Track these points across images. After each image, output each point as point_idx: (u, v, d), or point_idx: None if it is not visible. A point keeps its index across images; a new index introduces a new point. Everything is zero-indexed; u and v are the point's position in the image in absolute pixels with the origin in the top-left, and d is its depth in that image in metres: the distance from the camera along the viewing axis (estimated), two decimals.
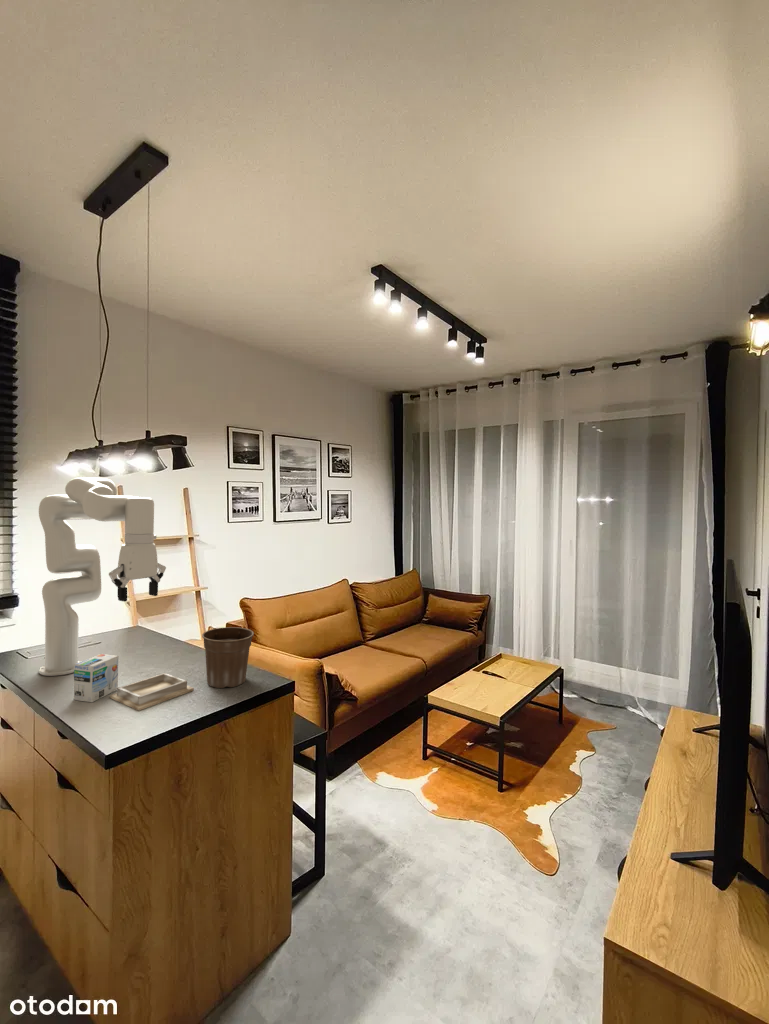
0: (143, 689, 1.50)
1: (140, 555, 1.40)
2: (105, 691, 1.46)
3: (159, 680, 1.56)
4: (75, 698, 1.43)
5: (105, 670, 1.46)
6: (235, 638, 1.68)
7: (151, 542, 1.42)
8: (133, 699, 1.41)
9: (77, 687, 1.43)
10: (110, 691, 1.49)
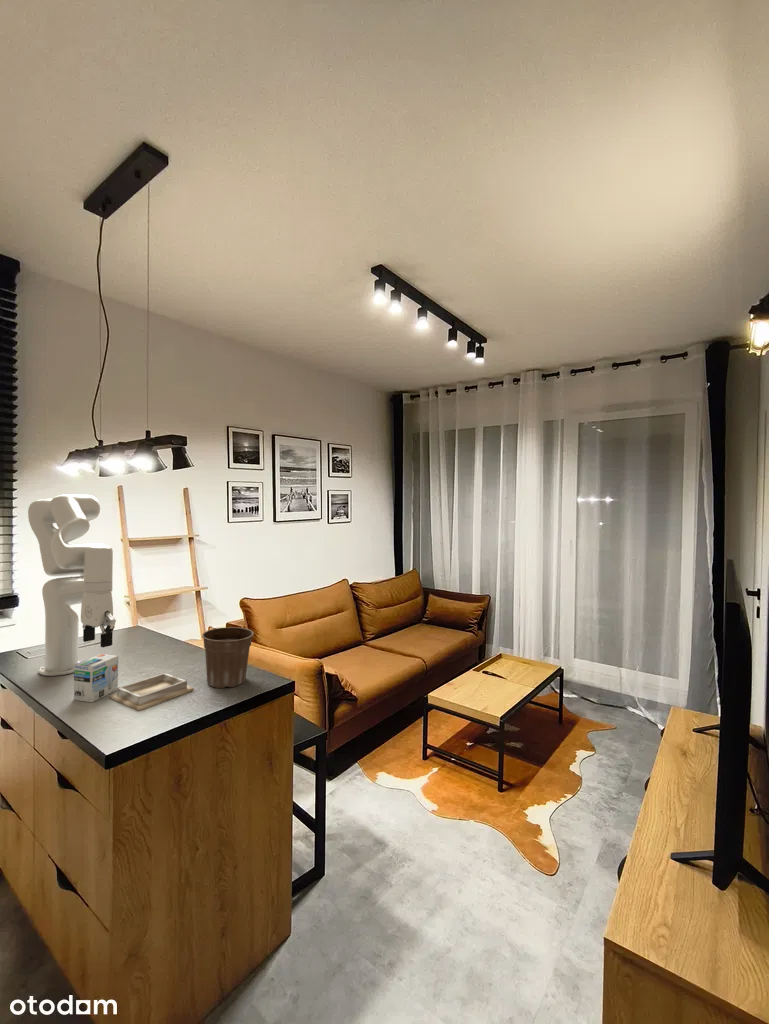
0: (143, 689, 1.50)
1: None
2: (105, 691, 1.46)
3: (159, 680, 1.56)
4: (75, 698, 1.43)
5: (105, 670, 1.46)
6: (235, 638, 1.68)
7: None
8: (133, 699, 1.41)
9: (77, 687, 1.43)
10: (110, 691, 1.49)
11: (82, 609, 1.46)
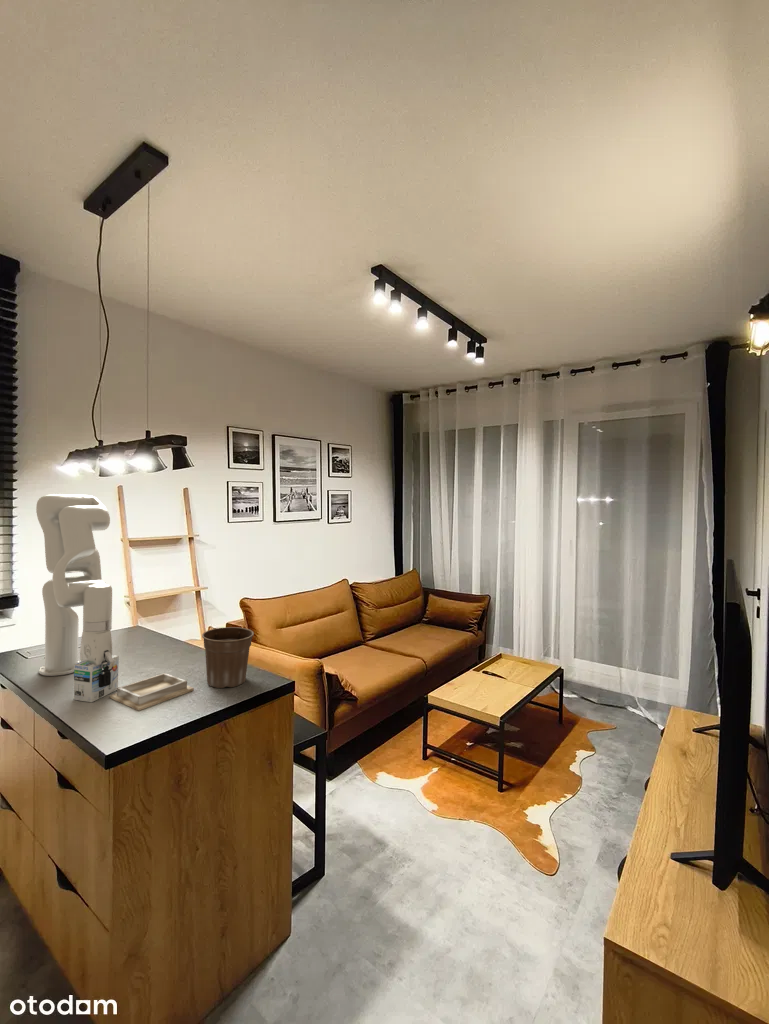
0: (143, 689, 1.50)
1: None
2: (104, 691, 1.46)
3: (159, 680, 1.56)
4: (75, 698, 1.43)
5: None
6: (235, 638, 1.68)
7: None
8: (133, 699, 1.41)
9: (77, 687, 1.43)
10: (110, 691, 1.48)
11: (81, 647, 1.47)
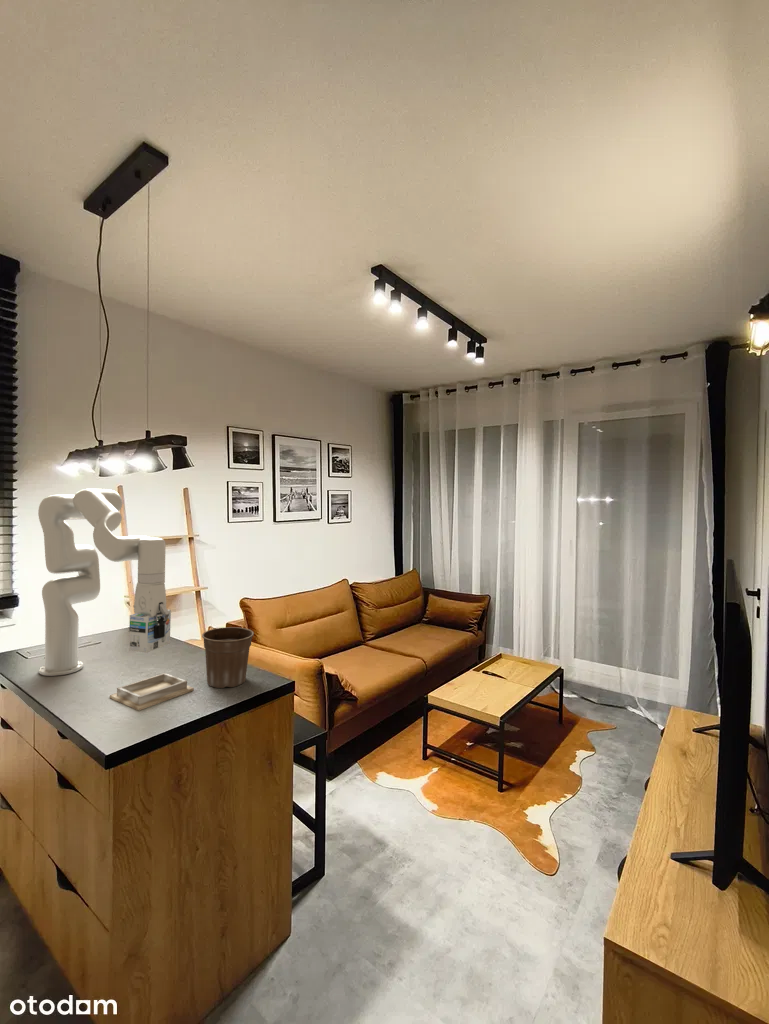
0: (143, 689, 1.50)
1: None
2: (158, 643, 1.47)
3: (159, 680, 1.56)
4: (130, 649, 1.44)
5: None
6: (235, 638, 1.68)
7: None
8: (133, 699, 1.41)
9: (132, 638, 1.44)
10: (163, 644, 1.50)
11: (136, 600, 1.48)
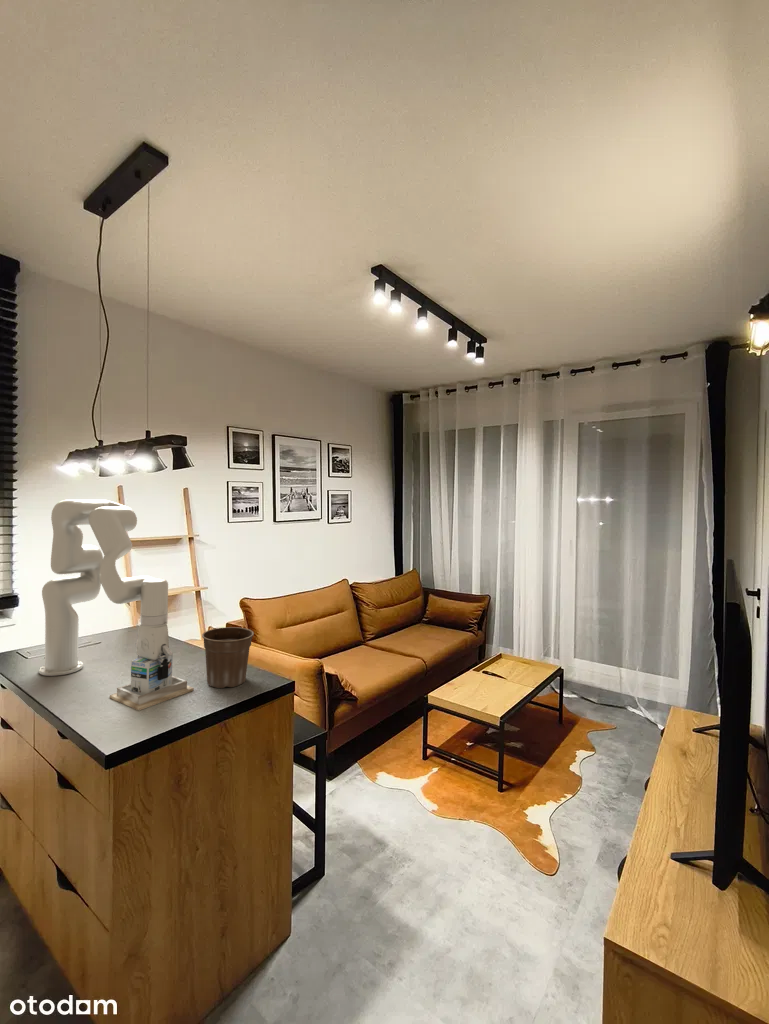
0: None
1: None
2: (160, 688, 1.48)
3: None
4: None
5: None
6: (235, 638, 1.68)
7: None
8: (133, 699, 1.41)
9: (134, 683, 1.45)
10: None
11: (138, 641, 1.48)
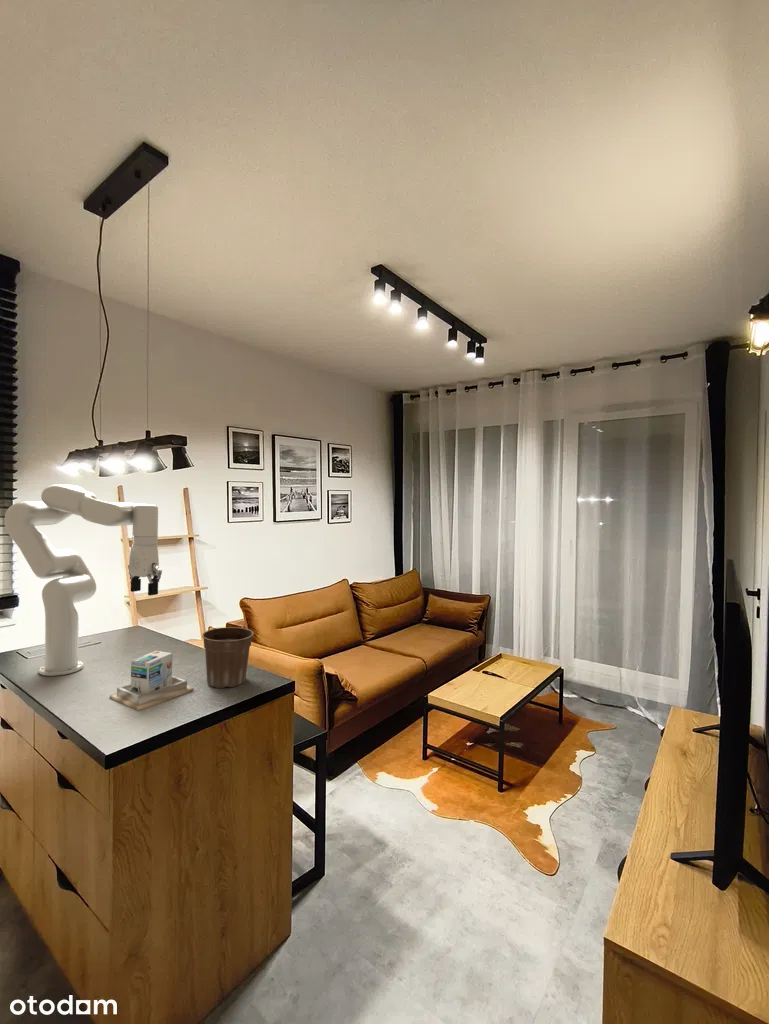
0: None
1: None
2: (160, 688, 1.48)
3: None
4: None
5: (160, 667, 1.48)
6: (235, 638, 1.68)
7: None
8: (133, 699, 1.41)
9: (134, 683, 1.45)
10: None
11: (130, 561, 1.61)
